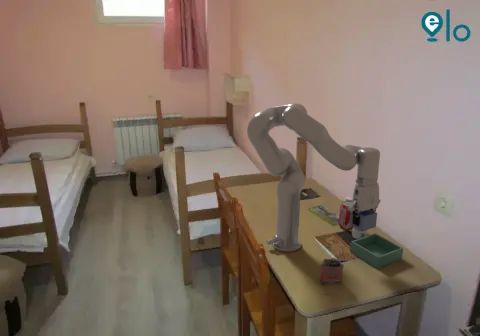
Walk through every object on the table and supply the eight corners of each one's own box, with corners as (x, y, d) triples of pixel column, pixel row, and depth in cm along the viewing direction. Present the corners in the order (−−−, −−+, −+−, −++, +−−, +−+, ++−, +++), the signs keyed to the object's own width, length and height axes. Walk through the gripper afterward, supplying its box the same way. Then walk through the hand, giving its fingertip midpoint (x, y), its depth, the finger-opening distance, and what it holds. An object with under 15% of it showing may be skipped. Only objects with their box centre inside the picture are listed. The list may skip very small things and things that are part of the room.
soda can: (354, 230, 179) (356, 207, 175) (338, 229, 180) (340, 205, 177) (353, 223, 186) (355, 201, 182) (338, 222, 187) (340, 199, 183)
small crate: (362, 231, 147) (364, 217, 145) (349, 224, 153) (350, 210, 151) (375, 227, 150) (377, 213, 149) (362, 220, 156) (363, 206, 154)
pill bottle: (339, 214, 195) (341, 197, 192) (348, 213, 197) (350, 195, 194) (346, 219, 191) (348, 201, 187) (355, 217, 193) (357, 199, 189)
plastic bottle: (356, 242, 169) (361, 200, 162) (348, 235, 175) (352, 194, 168) (369, 240, 170) (374, 199, 164) (360, 233, 177) (365, 193, 170)
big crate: (376, 268, 149) (378, 257, 148) (349, 251, 161) (351, 241, 160) (401, 259, 156) (403, 248, 155) (373, 243, 168) (375, 233, 166)
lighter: (340, 279, 143) (342, 256, 140) (342, 285, 140) (345, 261, 136) (318, 279, 142) (320, 256, 139) (321, 285, 139) (323, 261, 136)
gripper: (357, 187, 139) (353, 231, 144) (390, 179, 147) (386, 221, 152) (342, 181, 145) (339, 223, 151) (375, 173, 153) (371, 214, 158)
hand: (363, 222), depth 151 cm, fingers closed on small crate, 7 cm apart
